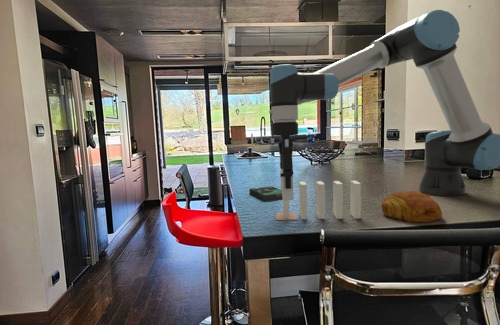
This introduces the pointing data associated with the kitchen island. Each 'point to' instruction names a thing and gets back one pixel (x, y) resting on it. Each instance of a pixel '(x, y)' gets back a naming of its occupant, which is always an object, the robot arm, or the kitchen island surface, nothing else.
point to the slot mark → (291, 217)
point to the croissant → (411, 207)
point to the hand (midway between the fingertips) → (286, 194)
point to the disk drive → (267, 193)
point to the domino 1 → (285, 206)
